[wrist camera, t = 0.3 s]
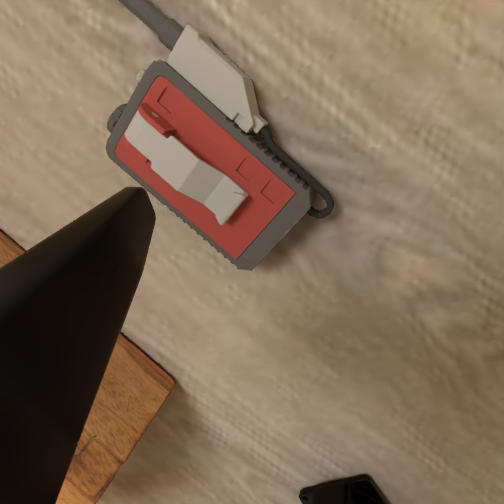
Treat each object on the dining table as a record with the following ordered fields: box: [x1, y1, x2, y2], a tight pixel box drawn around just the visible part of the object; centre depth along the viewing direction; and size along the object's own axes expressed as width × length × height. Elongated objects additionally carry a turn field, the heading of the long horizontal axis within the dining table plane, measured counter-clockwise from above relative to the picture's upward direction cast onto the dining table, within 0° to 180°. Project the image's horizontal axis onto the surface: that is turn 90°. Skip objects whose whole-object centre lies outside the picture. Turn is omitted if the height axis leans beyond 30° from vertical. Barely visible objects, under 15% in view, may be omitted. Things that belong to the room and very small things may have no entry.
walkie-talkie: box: [106, 0, 334, 271], centre depth 21 cm, size 9×4×20 cm
